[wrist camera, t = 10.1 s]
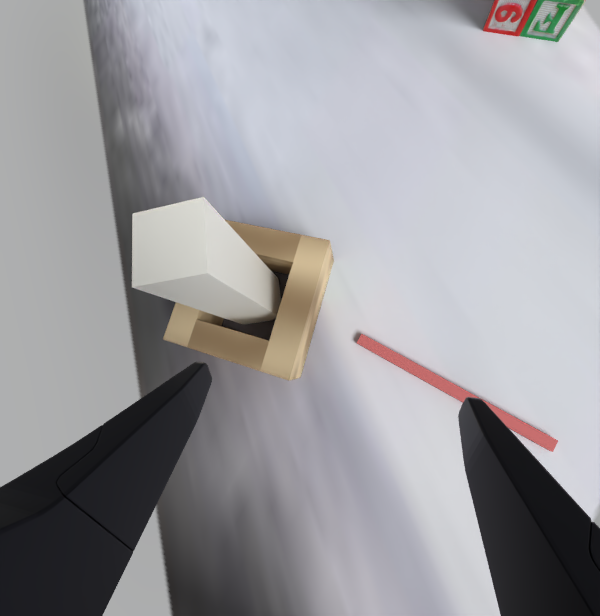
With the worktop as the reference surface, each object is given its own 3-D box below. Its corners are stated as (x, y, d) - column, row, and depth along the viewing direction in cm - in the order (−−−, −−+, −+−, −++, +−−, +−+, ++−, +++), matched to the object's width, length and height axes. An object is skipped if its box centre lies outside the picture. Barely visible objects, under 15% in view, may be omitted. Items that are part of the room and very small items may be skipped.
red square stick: (553, 439, 18) (557, 440, 18) (548, 450, 18) (552, 452, 18) (361, 334, 22) (361, 333, 22) (356, 343, 22) (356, 342, 22)
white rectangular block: (283, 318, 23) (207, 273, 11) (243, 324, 24) (131, 287, 12) (278, 279, 24) (203, 197, 12) (240, 285, 25) (132, 213, 13)
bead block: (300, 377, 22) (289, 380, 18) (192, 342, 25) (162, 339, 21) (333, 260, 24) (329, 240, 20) (228, 238, 26) (206, 216, 22)
